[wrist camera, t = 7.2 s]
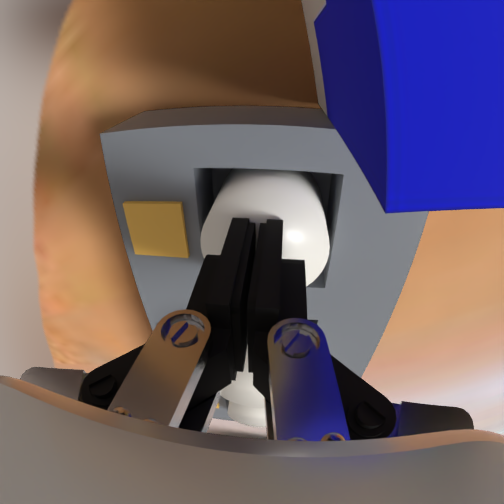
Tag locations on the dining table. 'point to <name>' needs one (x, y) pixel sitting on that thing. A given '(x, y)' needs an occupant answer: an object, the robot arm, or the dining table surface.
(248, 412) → the button
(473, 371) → the dining table surface
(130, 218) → the button board
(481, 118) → the puzzle toy
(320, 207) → the button
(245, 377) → the middle button
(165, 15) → the dining table surface
